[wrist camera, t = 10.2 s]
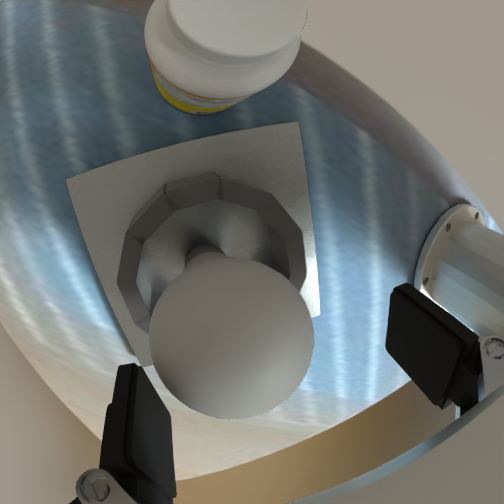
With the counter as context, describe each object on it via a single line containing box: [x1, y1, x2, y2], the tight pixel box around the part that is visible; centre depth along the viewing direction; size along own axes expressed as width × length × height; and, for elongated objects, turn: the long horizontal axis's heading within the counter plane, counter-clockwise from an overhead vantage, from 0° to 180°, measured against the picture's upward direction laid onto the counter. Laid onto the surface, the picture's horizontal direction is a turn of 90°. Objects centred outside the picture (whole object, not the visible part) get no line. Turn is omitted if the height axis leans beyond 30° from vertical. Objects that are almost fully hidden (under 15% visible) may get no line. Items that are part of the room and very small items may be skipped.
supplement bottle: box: [144, 0, 308, 115], centre depth 10 cm, size 6×6×10 cm
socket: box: [117, 172, 307, 334], centre depth 17 cm, size 10×10×3 cm
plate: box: [66, 121, 320, 367], centre depth 18 cm, size 14×14×1 cm
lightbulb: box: [149, 244, 314, 419], centre depth 13 cm, size 6×6×11 cm
